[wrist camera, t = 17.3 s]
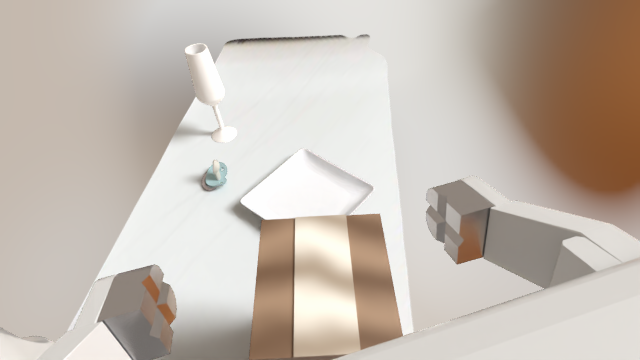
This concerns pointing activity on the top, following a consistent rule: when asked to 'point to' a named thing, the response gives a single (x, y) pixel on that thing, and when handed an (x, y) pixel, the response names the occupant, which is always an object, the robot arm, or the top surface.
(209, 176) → the pacifier
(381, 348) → the robot arm
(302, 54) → the top surface
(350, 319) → the stand
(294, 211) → the salad plate
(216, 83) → the champagne flute
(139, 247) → the top surface
